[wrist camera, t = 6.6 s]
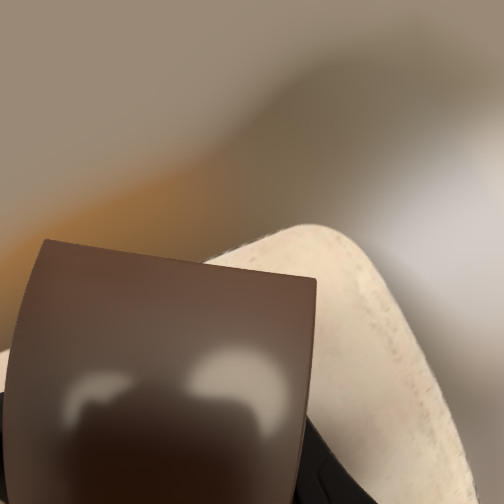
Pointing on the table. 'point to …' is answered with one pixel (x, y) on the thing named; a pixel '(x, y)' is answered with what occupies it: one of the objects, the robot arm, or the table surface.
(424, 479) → the table surface
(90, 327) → the walnut block
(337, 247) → the table surface
